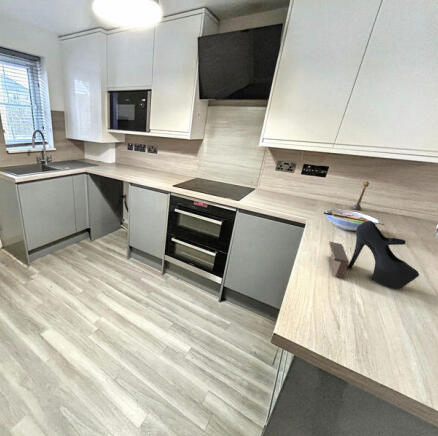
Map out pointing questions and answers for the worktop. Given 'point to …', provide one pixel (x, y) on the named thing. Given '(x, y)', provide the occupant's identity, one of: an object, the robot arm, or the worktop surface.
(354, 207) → the wooden tabletop sculpture
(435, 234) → the robot arm
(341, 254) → the shoe rack rail
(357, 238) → the high-heeled shoe
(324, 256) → the worktop surface
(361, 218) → the ramen bowl
